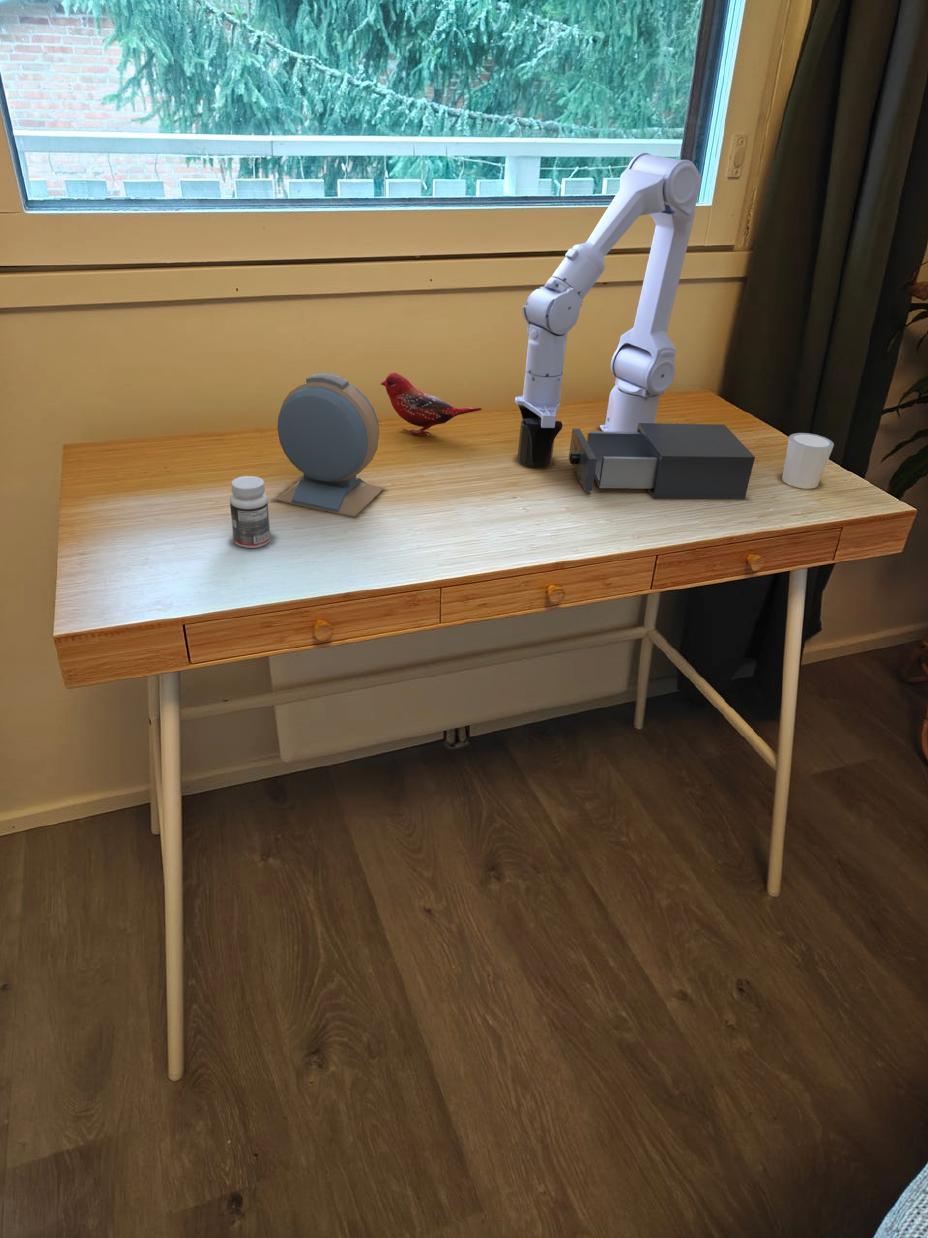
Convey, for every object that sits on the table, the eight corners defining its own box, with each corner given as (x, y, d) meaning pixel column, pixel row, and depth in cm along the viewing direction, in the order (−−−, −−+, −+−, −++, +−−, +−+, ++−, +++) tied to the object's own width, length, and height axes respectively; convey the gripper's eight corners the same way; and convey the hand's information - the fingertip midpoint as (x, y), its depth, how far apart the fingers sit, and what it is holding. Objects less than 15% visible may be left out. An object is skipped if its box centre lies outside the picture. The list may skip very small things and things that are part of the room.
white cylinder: (824, 492, 140) (837, 450, 137) (780, 486, 141) (791, 445, 138) (819, 475, 146) (831, 435, 142) (776, 470, 147) (786, 429, 143)
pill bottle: (236, 531, 119) (230, 473, 114) (272, 532, 119) (268, 474, 115) (231, 549, 115) (225, 489, 110) (268, 549, 115) (264, 490, 111)
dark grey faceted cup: (514, 455, 146) (517, 417, 143) (546, 454, 147) (550, 416, 144) (522, 468, 142) (526, 429, 138) (554, 467, 143) (559, 429, 139)
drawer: (576, 491, 134) (581, 458, 131) (561, 458, 144) (564, 428, 141) (670, 491, 135) (677, 459, 133) (648, 459, 146) (654, 429, 143)
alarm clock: (388, 491, 132) (390, 373, 122) (361, 518, 124) (360, 394, 114) (302, 473, 135) (296, 357, 126) (269, 499, 128) (261, 377, 118)
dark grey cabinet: (653, 498, 135) (661, 455, 131) (631, 463, 146) (637, 422, 142) (744, 499, 137) (755, 457, 133) (715, 464, 148) (724, 424, 144)
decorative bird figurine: (382, 425, 154) (383, 368, 149) (481, 441, 151) (485, 383, 145) (377, 431, 152) (377, 373, 146) (477, 447, 148) (481, 388, 143)
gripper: (511, 356, 142) (504, 437, 149) (525, 386, 130) (517, 472, 137) (554, 357, 143) (545, 437, 150) (573, 387, 131) (562, 472, 138)
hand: (535, 454), depth 144 cm, fingers closed on dark grey faceted cup, 5 cm apart
